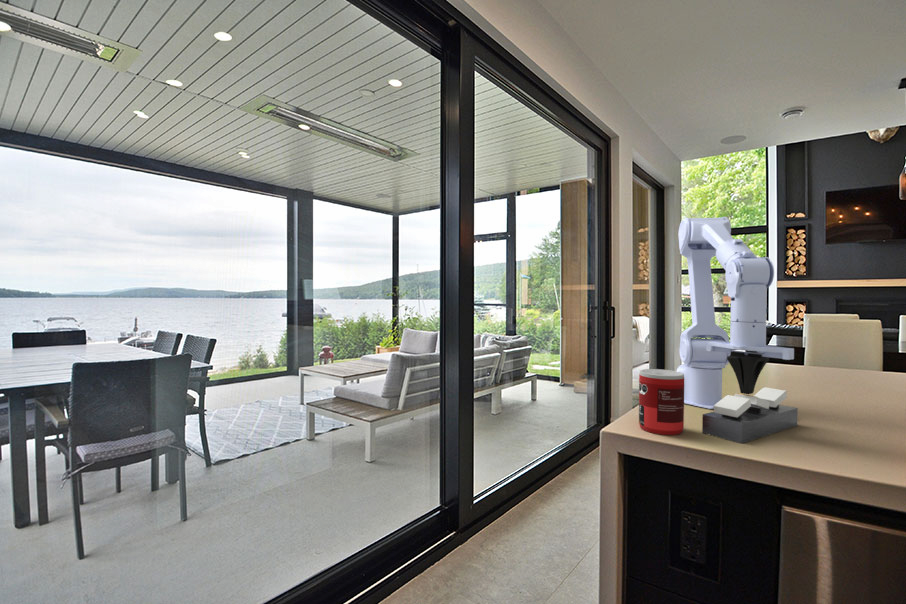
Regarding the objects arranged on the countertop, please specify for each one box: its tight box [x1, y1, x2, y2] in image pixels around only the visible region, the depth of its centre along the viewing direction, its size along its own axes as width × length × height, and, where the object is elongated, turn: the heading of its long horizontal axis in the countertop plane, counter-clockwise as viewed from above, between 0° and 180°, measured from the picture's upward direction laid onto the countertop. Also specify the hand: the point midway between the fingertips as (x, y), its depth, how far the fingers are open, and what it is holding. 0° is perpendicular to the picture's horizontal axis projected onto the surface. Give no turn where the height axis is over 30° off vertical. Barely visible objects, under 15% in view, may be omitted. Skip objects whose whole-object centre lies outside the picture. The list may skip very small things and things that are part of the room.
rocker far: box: [753, 386, 788, 407], centre depth 92 cm, size 4×5×1 cm
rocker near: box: [713, 394, 751, 417], centre depth 85 cm, size 4×5×1 cm
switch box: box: [701, 404, 799, 444], centre depth 90 cm, size 7×27×4 cm, turn 122°
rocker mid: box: [733, 392, 770, 409], centre depth 88 cm, size 4×5×2 cm
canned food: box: [638, 368, 685, 436], centre depth 88 cm, size 8×8×11 cm
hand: (746, 393), depth 87 cm, fingers closed
